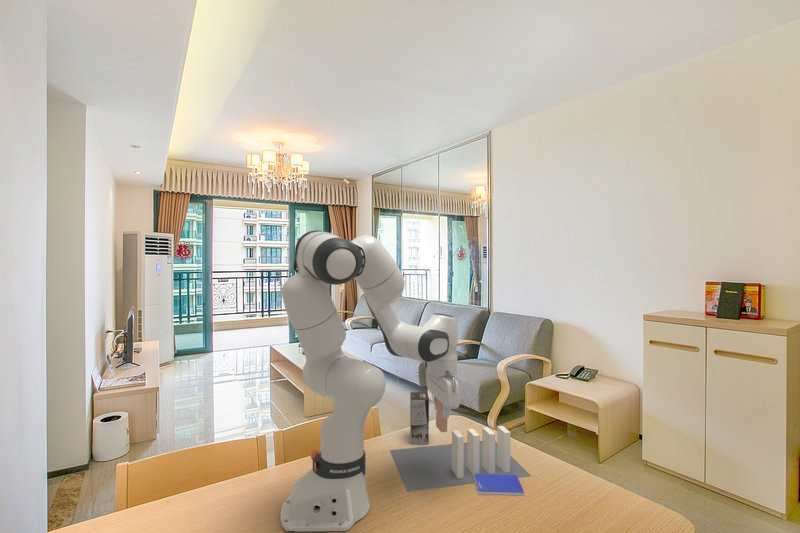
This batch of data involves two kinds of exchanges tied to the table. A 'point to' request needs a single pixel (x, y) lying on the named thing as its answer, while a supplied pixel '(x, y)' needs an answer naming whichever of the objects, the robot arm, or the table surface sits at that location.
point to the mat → (441, 467)
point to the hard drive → (498, 484)
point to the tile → (440, 417)
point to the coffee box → (419, 418)
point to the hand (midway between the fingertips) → (441, 413)
